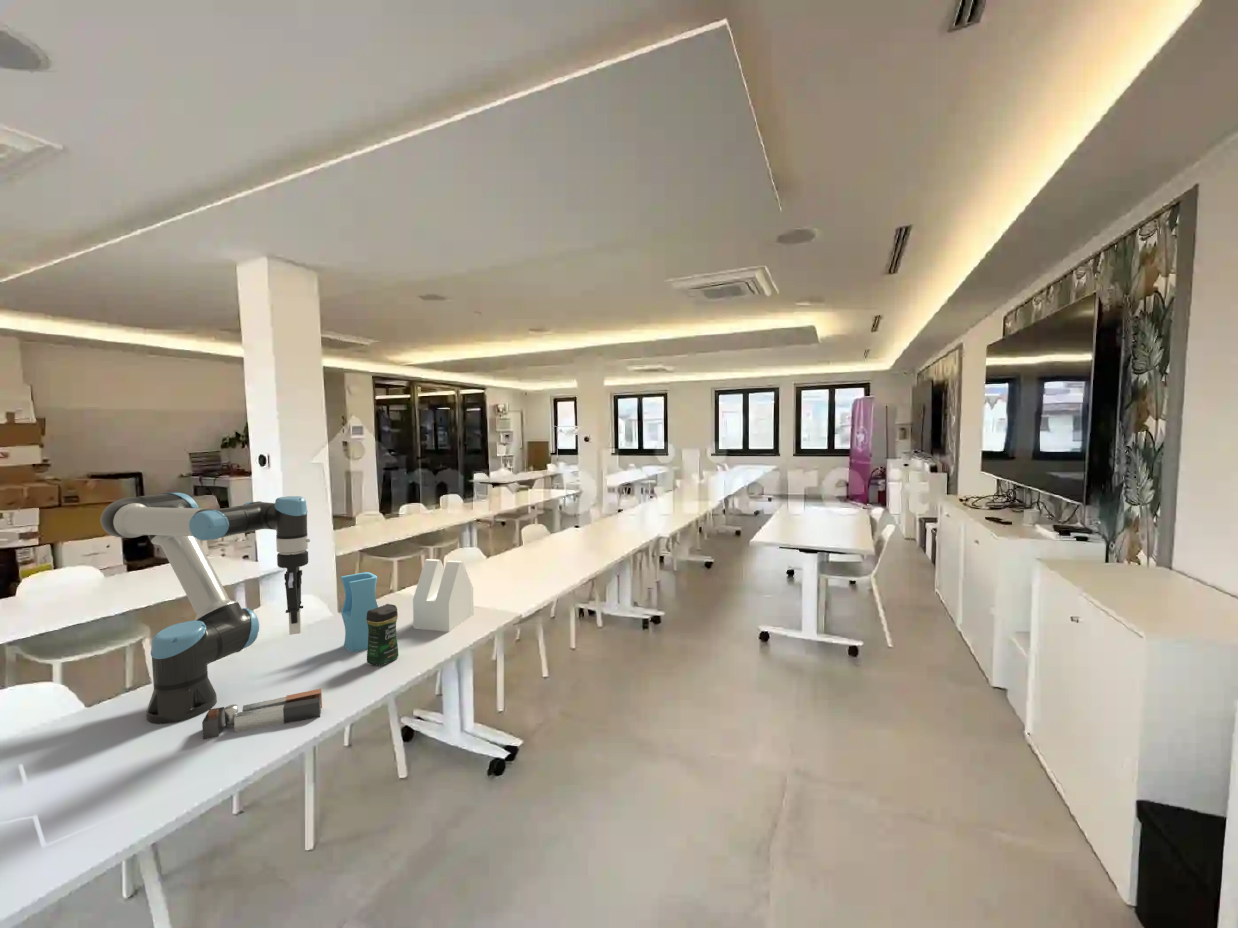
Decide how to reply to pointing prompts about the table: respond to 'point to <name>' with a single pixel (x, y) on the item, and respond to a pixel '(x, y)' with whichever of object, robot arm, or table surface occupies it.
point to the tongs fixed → (261, 716)
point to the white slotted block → (442, 596)
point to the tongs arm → (269, 704)
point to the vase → (358, 608)
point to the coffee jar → (382, 635)
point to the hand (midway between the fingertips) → (295, 632)
